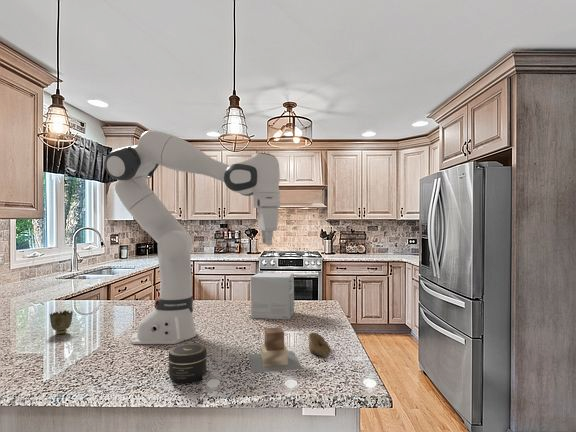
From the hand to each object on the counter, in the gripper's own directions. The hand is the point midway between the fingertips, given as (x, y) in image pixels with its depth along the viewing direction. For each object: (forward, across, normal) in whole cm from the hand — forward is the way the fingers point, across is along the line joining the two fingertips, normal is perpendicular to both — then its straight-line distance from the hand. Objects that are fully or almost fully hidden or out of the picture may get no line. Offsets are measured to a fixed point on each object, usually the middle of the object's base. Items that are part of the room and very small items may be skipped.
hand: (267, 244), depth 123 cm
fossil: (+34, +10, +15) cm, 39 cm away
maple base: (+33, +14, 0) cm, 36 cm away
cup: (+34, -32, -74) cm, 88 cm away
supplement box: (+34, -42, +8) cm, 55 cm away
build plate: (+34, +14, 0) cm, 37 cm away
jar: (+34, +18, -24) cm, 46 cm away
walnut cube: (+29, +14, 0) cm, 32 cm away
